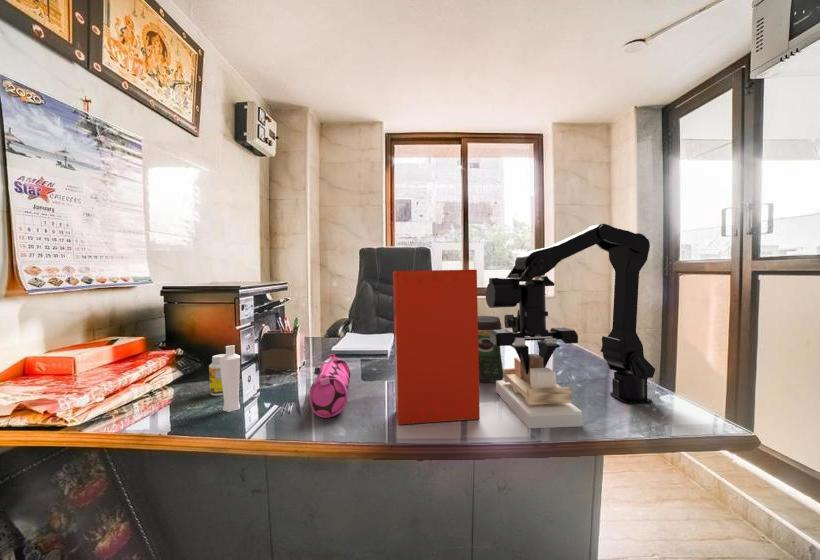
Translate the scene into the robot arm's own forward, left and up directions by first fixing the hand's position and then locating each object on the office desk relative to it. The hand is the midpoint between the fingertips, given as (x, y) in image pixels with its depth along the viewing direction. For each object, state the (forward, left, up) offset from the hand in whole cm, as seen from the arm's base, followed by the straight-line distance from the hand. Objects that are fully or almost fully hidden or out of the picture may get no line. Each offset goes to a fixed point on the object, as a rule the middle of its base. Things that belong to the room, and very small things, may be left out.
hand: (533, 373), depth 82 cm
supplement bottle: (+79, -18, -8) cm, 82 cm away
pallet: (0, 0, -4) cm, 4 cm away
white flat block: (0, 0, -8) cm, 8 cm away
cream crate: (0, +5, -2) cm, 5 cm away
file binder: (+23, +3, -8) cm, 25 cm away
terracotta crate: (0, -5, -2) cm, 5 cm away
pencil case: (+48, -8, -8) cm, 49 cm away
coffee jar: (+5, -22, -8) cm, 24 cm away
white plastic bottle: (+71, -6, -8) cm, 72 cm away
